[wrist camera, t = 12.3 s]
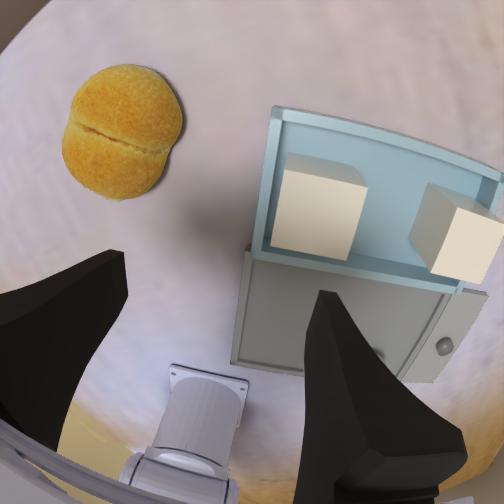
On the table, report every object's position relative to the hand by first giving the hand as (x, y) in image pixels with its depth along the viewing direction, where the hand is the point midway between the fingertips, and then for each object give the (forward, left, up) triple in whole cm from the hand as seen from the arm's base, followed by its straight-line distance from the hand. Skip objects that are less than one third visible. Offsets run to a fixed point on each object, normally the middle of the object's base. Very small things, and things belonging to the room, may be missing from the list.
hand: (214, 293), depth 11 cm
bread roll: (+3, +9, -11) cm, 15 cm away
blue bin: (+1, -8, -10) cm, 13 cm away
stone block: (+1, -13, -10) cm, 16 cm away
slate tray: (-9, -10, -10) cm, 17 cm away
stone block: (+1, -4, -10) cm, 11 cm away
